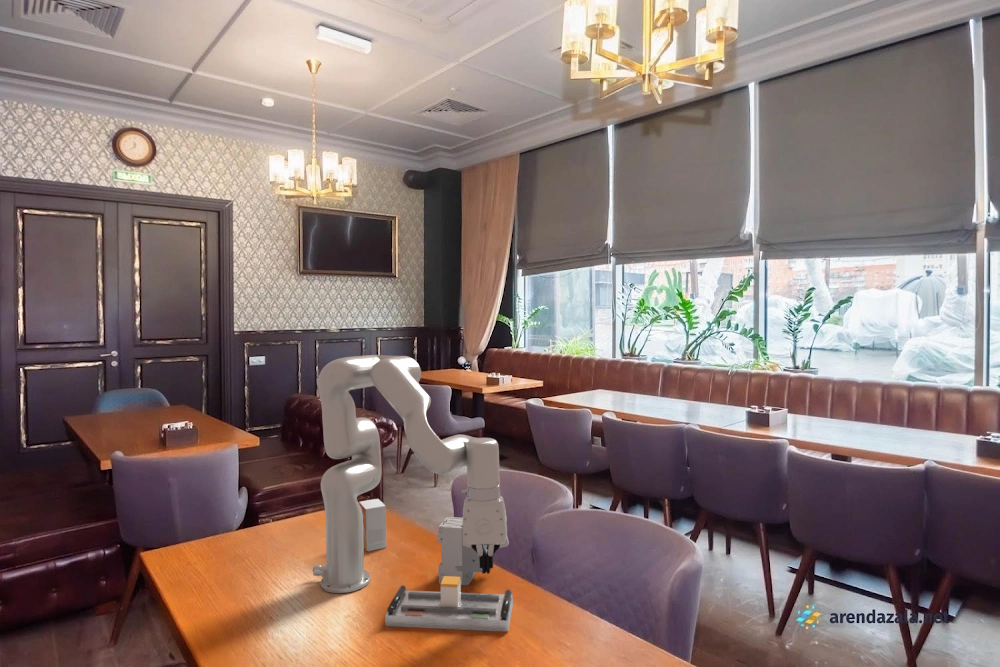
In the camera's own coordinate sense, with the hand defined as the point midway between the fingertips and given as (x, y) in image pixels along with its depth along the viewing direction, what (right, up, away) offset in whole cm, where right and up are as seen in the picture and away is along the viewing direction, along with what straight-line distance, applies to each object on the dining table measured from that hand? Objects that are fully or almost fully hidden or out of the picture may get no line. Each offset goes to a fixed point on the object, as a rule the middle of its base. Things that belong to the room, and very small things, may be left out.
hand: (486, 570), depth 134 cm
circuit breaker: (-5, -11, +20) cm, 23 cm away
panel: (-8, -11, +1) cm, 14 cm away
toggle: (-8, -8, +1) cm, 12 cm away
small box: (-36, -10, +44) cm, 58 cm away
